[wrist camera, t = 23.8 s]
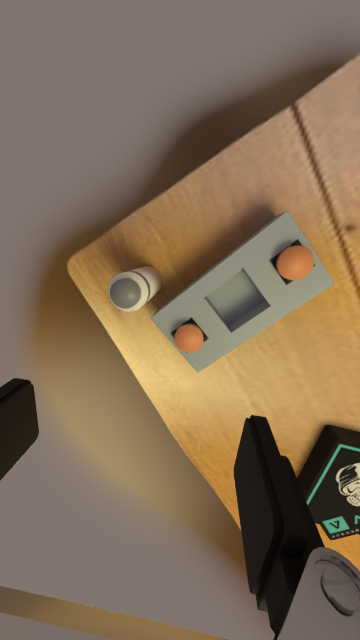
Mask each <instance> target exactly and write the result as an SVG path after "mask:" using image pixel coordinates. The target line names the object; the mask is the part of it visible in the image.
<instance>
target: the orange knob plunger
mask: <svg viewBox="0 0 360 640" xmlns="http://www.w3.org/2000/svg"><path fill="white" fill-rule="evenodd" d="M174 340H175V344H176V346H177V347H178V348H179V349H180V350H181V351H183V352H187V353H191V352H195V351H197V350H198V349H200V347H201V346H202V344H203V333H202V331H201V329H200V328H199V326H198V324H197V323H196V322H195V321H192V320H189V321H186V322H185V323H184V324H183V325H182V326H180V327H179V328H178V329H177V331H176V334H175V338H174Z"/></svg>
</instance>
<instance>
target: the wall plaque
mask: <svg viewBox="0 0 360 640" xmlns="http://www.w3.org/2000/svg"><path fill="white" fill-rule="evenodd" d="M297 480H298V483H299V485H300V487H301V490H302V492H303V495H304V497H305V500H306V502H307V505H308V507H309V510H310V512H311V514H312V517H313V519H314V522H315V523H317V524H320V525H321V527H322V529H323V530H324V532H325V533H326V535H327V536H328V538H329V539H330V540H335V539H339V538H343V537H347V536H351V535H355V534H360V432H357V431H352V430H348V429H344V428H340V427H336V426H332V425H326V426H325V427H324V429H323V431H322V433H321V435H320V437H319V439H318V441H317V443H316V445H315V447H314V448H313V450H312V452H311V454H310V456H309V458H308V460H307V462H306V464H305V466H304V468H303V469H302V471H301V473H300V475H299V477H298V479H297Z"/></svg>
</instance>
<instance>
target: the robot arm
mask: <svg viewBox="0 0 360 640" xmlns="http://www.w3.org/2000/svg"><path fill="white" fill-rule="evenodd" d="M38 434H39V429H38V421H37V411H36V403H35V394H34V387H33V385H32V384H31V382H30V381H29V380H24V379H18V378H14V379H12V380H10V381H9V382H8V383H6V384H5V385H3V386H2V387H0V480H1V479H2V478H3V477H4V476H5V475H6V473H7V472H8V471H9V470H10V469H11V468H12V467H13V465H14V464H15V463H16V462H17V461H18V460H19V459H20V458H21V456H22V455H23V454H24V453H25V452H26V451H27V450H28V449H29V447H30V446H31V445H32V444H33V443H34V442H35V440H36V439H37V437H38ZM234 479H235V487H236V494H237V501H238V509H239V516H240V524H241V531H242V539H243V546H244V554H245V561H246V569H247V576H248V584H249V589H250V592H251V593H252V594H256V600H257V607H258V610H262V611H266V612H268V615H269V620H270V627H271V628H272V630H273V631H274V633H275V634H274V637H273V639H272V640H360V571H359V570H358V569H357V568H356V567H355V566H354V565H353V564H352V563H351V562H350V561H349V560H348V559H347V558H345V557H344V556H342V555H341V554H340V553H338V552H336V551H334V550H332V549H329V548H325V546H324V544H323V541H322V539H321V537H320V534H319V532H318V529H317V527H316V524H315V522H314V519H313V517H312V514H311V512H310V510H309V507H308V505H307V502H306V500H305V497H304V495H303V492H302V490H301V487H300V485H299V483H298V480H297V478H296V475H295V473H294V470H293V468H292V465H291V463H290V461H289V459H288V458H287V457H286V456H281V455H280V453H279V450H278V447H277V445H276V442H275V439H274V437H273V434H272V431H271V429H270V426H269V423H268V421H267V419H266V417H261V416H254V415H251V417H250V419H249V418H246V420H245V423H244V428H243V432H242V436H241V440H240V444H239V448H238V452H237V457H236V461H235V465H234ZM0 640H227V639H223V638H219V637H215V636H211V635H207V634H204V633H200V632H196V631H192V630H188V629H184V628H180V627H177V626H172V625H169V624H164V623H160V622H156V621H152V620H147V619H143V618H139V617H134V616H130V615H126V614H121V613H117V612H113V611H108V610H104V609H100V608H96V607H91V606H87V605H83V604H78V603H74V602H69V601H65V600H60V599H56V598H51V597H47V596H43V595H38V594H34V593H29V592H25V591H20V590H16V589H11V588H7V587H2V586H0Z"/></svg>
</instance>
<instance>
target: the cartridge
mask: <svg viewBox="0 0 360 640" xmlns="http://www.w3.org/2000/svg"><path fill="white" fill-rule="evenodd" d="M161 287H162V276H161V274H160V273H159V271H158V270H157V269H155V268H153V267H150V266H145V267H141V268H137V269H134V270H130V271H125V272H121V273H119V274H117V275H116V276H114V277H113V278H112V280H111V281H110V283H109V287H108V293H109V297H110V299H111V301H112V303H113V304H114V305H115V306H116V307H117V308H119V309H121V310H123V311H127V312H131V311H136V310H138V309H139V308H141V307H142V306H144V305H145V304H146V303H147V301H148V300H150V299H151V298H152V297H153V296H154V295H155V294H156V293H157V292H158V291H159V290H160V289H161Z"/></svg>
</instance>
